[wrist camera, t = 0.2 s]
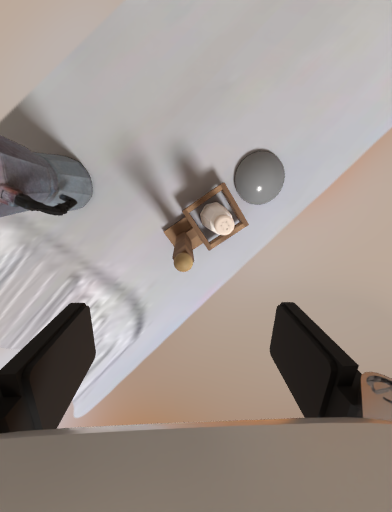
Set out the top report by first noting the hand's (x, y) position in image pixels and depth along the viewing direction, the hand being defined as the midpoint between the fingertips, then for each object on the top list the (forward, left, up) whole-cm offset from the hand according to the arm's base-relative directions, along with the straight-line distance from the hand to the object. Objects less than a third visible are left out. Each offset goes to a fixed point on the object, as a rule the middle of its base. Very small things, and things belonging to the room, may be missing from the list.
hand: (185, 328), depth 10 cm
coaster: (-16, 0, -30) cm, 34 cm away
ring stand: (-3, +1, -30) cm, 30 cm away
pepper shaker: (-6, +1, -30) cm, 31 cm away
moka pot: (+12, -18, -30) cm, 37 cm away
